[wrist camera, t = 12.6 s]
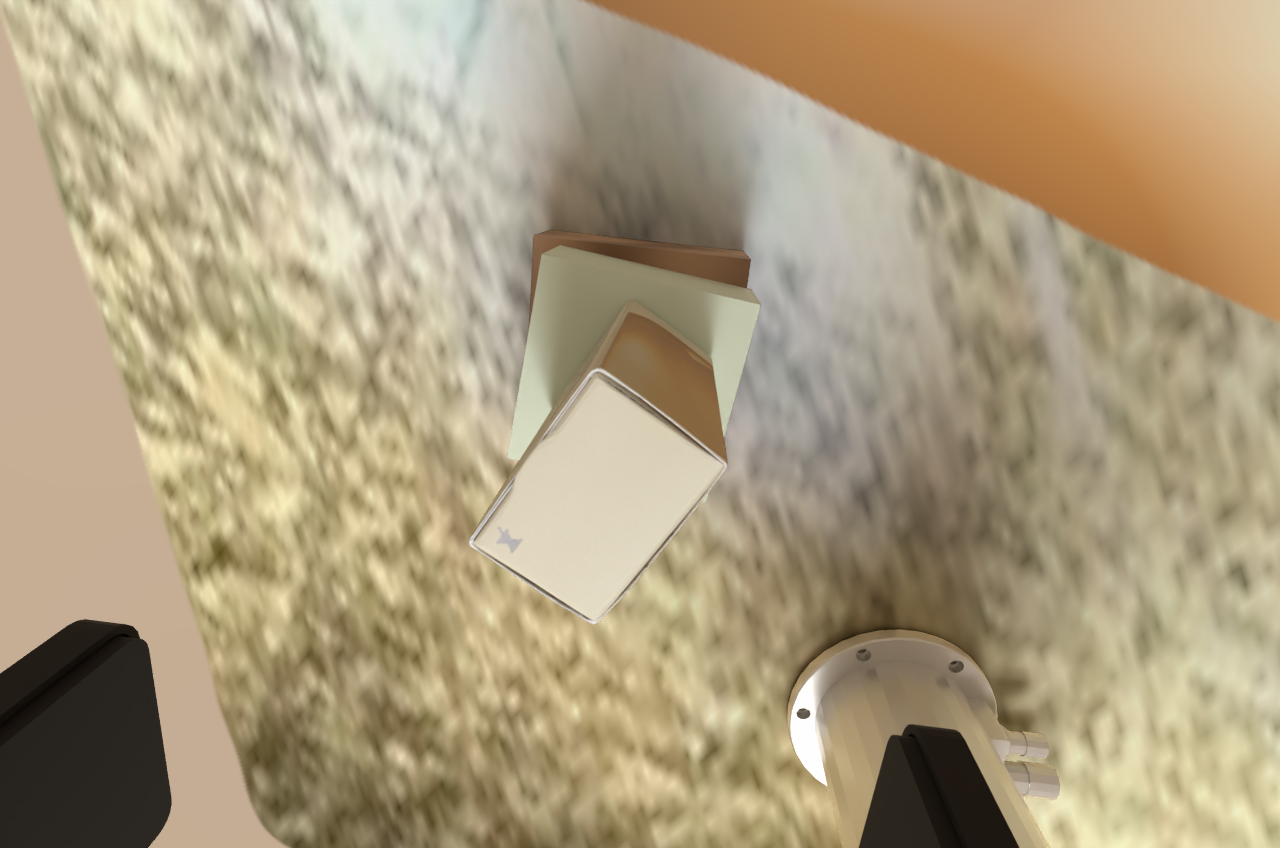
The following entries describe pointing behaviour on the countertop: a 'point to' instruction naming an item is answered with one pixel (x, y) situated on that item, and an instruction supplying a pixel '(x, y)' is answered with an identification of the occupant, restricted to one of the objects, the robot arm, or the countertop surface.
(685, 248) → the tower bottom
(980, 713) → the robot arm
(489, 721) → the countertop surface
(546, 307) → the tower top
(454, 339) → the countertop surface
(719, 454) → the skincare box
